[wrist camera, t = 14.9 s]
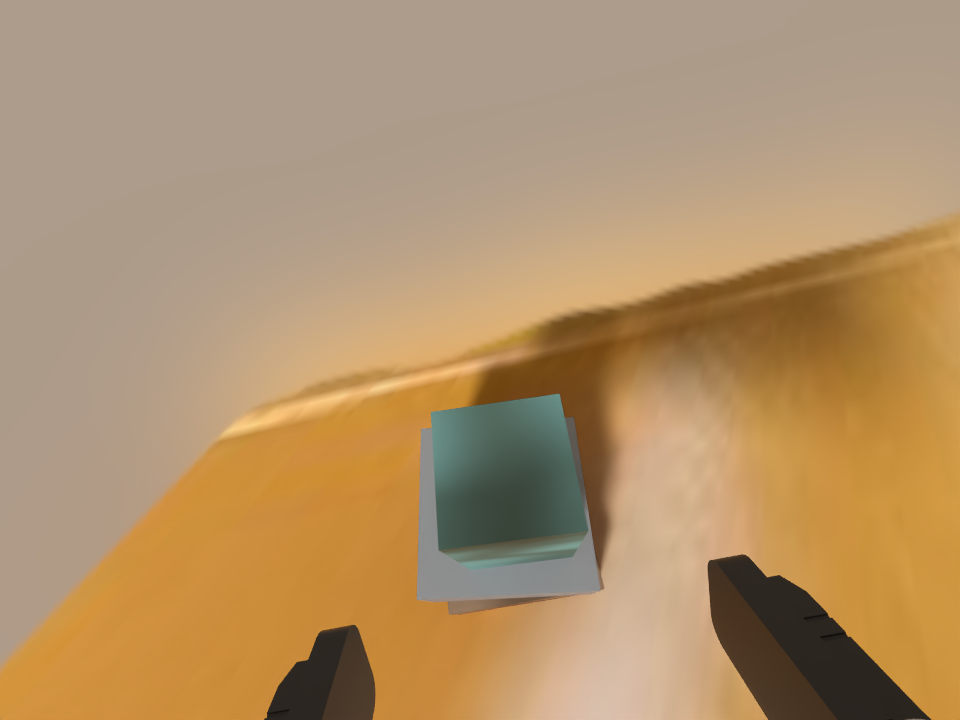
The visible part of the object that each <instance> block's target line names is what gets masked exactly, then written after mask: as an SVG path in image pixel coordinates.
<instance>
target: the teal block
mask: <svg viewBox="0 0 960 720" xmlns="http://www.w3.org/2000/svg"><path fill="white" fill-rule="evenodd" d="M431 423H432V441H433V460H434V478H435V496H436V514H437V532H438V550H439V551H441V552H442V553H444V554H445V555H447V556H449V557H450V558H452V559H454V560H455V561H457V562H458V563H460V564H462V565H463V566H465V567H466V568H468V569H470V570H474V569H482V568H490V567H498V566H506V565H514V564H522V563H530V562H538V561H546V560H554V559H562V558H570V557H573V556H574V554H575V552H576V551H577V549H578V547H579V546H580V544H581V543H582V541H583V539H584V538H585V536H586V534H587V533H588V526H587V521H586V517H585V512H584V507H583V502H582V498H581V493H580V488H579V483H578V479H577V474H576V469H575V464H574V460H573V455H572V450H571V446H570V441H569V436H568V431H567V427H566V422H565V417H564V412H563V408H562V403H561V398H560V394H554V395H547V396H540V397H533V398H526V399H519V400H512V401H505V402H498V403H491V404H484V405H477V406H470V407H463V408H456V409H449V410H442V411H435V412H431Z"/></svg>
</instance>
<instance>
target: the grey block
mask: <svg viewBox="0 0 960 720" xmlns="http://www.w3.org/2000/svg"><path fill="white" fill-rule="evenodd" d="M565 422H566V427H567V431H568V436H569V441H570V446H571V450H572V455H573V460H574V464H575V469H576V474H577V479H578V483H579V488H580V493H581V498H582V502H583V507H584V512H585V517H586V521H587V526H588V533H587V534H586V536H585V538H584V539H583V541H582V543H581V544H580V546H579V547H578V549H577V551H576V552H575V554H574V556H573V557H570V558H562V559H554V560H546V561H538V562H530V563H522V564H514V565H506V566H498V567H490V568H482V569H474V570H470V569H468V568H466V567H465V566H463V565H462V564H460V563H458V562H457V561H455V560H454V559H452V558H450V557H449V556H447V555H445V554H444V553H442V552H441V551H439V550H438V532H437V514H436V496H435V478H434V460H433V441H432V428H426V429H421V459H420V499H419V540H418V581H417V600H423V601H430V602H446V601H466V600H486V599H506V598H526V597H546V596H567V595H587V594H593V593H595V592H598V591H600V584H599V578H598V571H597V565H596V558H595V552H594V545H593V539H592V532H591V526H590V519H589V512H588V506H587V499H586V493H585V486H584V480H583V473H582V467H581V460H580V454H579V447H578V441H577V434H576V427H575V421H574V417H567V418H565Z"/></svg>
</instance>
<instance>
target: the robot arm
mask: <svg viewBox="0 0 960 720" xmlns="http://www.w3.org/2000/svg"><path fill="white" fill-rule="evenodd" d="M708 579H709V593H710V607H711V617H712V622H713V625H714V629H715V631H716V634H717V637H718V639H719V641H720V643H721V645H722V647H723V648H724V650H725V652H726V653H727V655H728V656H729V658H730V660H731V661H732V663H733V664H734V666H735V668H736V669H737V671H738V672H739V674H740V676H741V677H742V679H743V680H744V682H745V683H746V685H747V687H748V688H749V690H750V691H751V693H752V695H753V696H754V698H755V699H756V701H757V703H758V704H759V706H760V707H761V709H762V710H763V712H764V714H765V715H766V717H767V718H768V720H931V719H930V718H929V717H928V716H927V715H926V714H925V713H924V712H923V711H922V710H921V709H920V708H919V707H918V706H917V705H916V704H915V703H914V702H913V701H912V700H911V699H910V698H909V697H908V696H907V695H906V694H905V693H904V692H903V691H902V690H901V689H900V688H899V687H898V686H897V685H896V684H895V683H894V682H893V680H892V679H891V678H890V677H889V676H888V675H887V674H886V673H885V672H884V671H883V670H882V669H881V668H880V667H879V666H878V665H877V664H876V663H875V662H874V661H873V660H872V659H871V658H870V657H869V656H868V655H867V654H866V653H865V652H864V650H863V649H862V648H861V647H860V646H859V645H858V644H857V643H856V642H855V641H854V640H853V639H852V638H851V637H848V636H847V635H846V632H845V631H844V630H843V629H842V628H841V627H840V626H839V625H838V624H837V623H836V622H835V620H834V619H833V618H829V616H828V613H827V612H826V611H825V610H824V609H823V608H822V607H821V606H820V605H819V604H818V603H817V602H816V601H815V600H814V599H813V598H812V597H811V596H810V595H809V594H808V593H807V592H806V591H805V590H803V589H801V588H800V587H798V586H796V585H795V584H793V583H791V582H790V581H788V580H786V579H785V578H783V577H781V576H780V575H778V576H772V577H766V576H765V575H764V574H763V572H762V571H761V570H760V569H759V568H758V567H757V566H756V565H755V563H754V562H753V561H752V560H751V559H750V558H749V557H748V556H746V555H743V554H742V555H737V556H731V557H726V558H720V559H715V560H710V561H709V562H708ZM374 707H375V682H374V677H373V673H372V670H371V667H370V664H369V661H368V658H367V655H366V652H365V649H364V645H363V642H362V639H361V636H360V633H359V630H358V628H357V627H356V626H355V625H350V626H345V627H339V628H334V629H329V630H323V631H321V632H320V633H319V634H318V636H317V638H316V641H315V643H314V646H313V649H312V651H311V654H310V657H309V659H308V660H306V661H301V662H297V663H296V664H295V665H294V667H293V668H292V669H291V670H290V672H289V673H288V674H287V676H286V677H285V678H284V680H283V681H282V682H281V683H280V685H279V686H278V688H277V691H276V693H275V695H274V698H273V700H272V702H271V705H270V707H269V710H268V712H267V718H265V719H264V720H372V718H373V713H374Z"/></svg>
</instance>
